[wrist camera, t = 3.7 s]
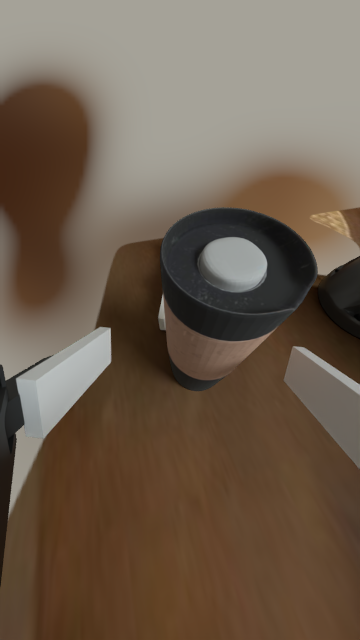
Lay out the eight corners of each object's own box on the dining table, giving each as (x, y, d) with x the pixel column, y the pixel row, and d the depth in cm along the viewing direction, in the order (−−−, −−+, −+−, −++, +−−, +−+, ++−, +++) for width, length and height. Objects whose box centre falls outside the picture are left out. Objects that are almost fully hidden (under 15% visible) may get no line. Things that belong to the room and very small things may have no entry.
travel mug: (168, 341, 28) (157, 206, 10) (218, 339, 28) (286, 204, 11) (170, 395, 24) (156, 323, 7) (227, 391, 24) (356, 314, 7)
